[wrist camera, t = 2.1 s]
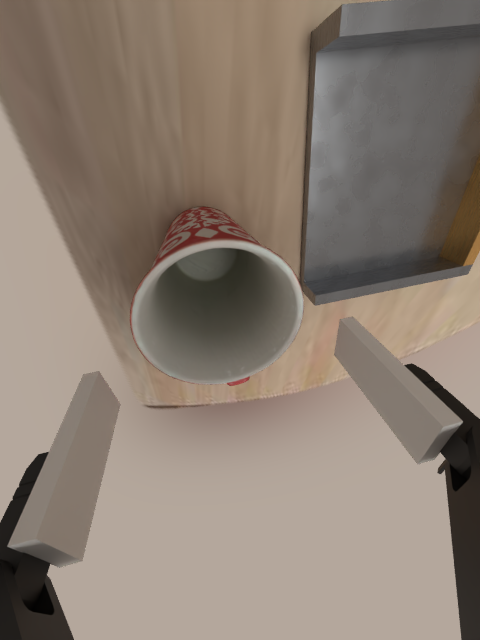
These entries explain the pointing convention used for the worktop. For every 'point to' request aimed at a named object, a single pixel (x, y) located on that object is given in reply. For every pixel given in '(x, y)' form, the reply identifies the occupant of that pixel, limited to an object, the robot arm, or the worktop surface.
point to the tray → (391, 148)
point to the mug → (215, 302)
